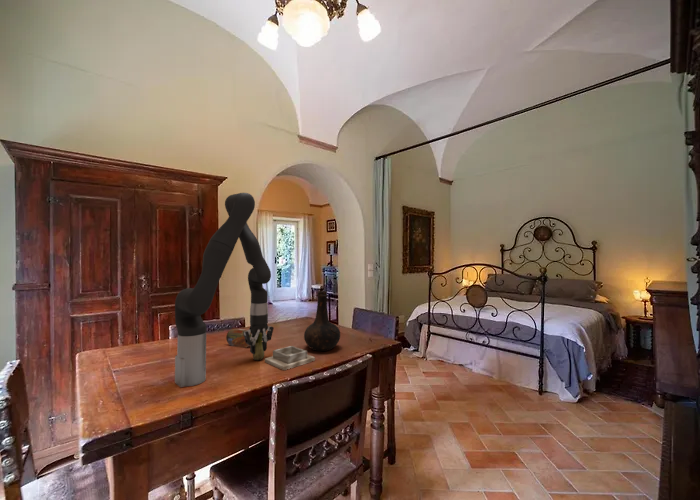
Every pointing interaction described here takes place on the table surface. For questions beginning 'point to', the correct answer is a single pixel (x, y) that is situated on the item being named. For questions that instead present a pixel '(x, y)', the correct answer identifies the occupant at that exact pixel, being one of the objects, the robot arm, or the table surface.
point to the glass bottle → (322, 328)
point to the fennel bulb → (258, 349)
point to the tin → (237, 338)
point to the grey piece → (289, 358)
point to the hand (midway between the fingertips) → (258, 351)
